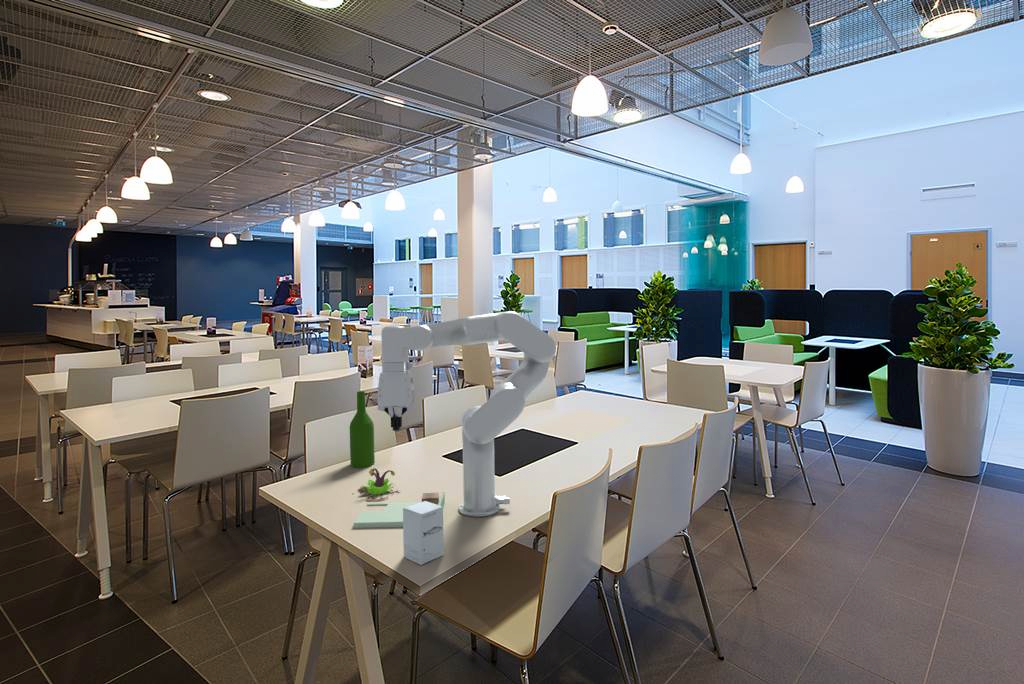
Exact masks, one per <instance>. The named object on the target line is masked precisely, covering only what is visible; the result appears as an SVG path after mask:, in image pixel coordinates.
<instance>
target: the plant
mask: <svg viewBox="0 0 1024 684" xmlns="http://www.w3.org/2000/svg"><path fill="white" fill-rule="evenodd" d="M389 472H390V475H391V476H393V477H394V476H395V475H396V472H395V471H393V470H390V469H389V470H386V471H385V472H383V473H382V476H380V472H379V470H378V469H377V468H373V467H372V468H371V469H369V471H368V474H369V475H370V476H371V477H373V476H374V477H375V480H371V479H368V482H367V481H366V485H365V484H364V485H362V486H360V488H358V489H357V490H356V491H357V493H359V494H360V495H361V494H363V493H364V494H363V495H362V496H360V498H361V497H362V498H363V497H364V498H365V497H368V498H367V499H366V500H365V502H366V503H381V502H384V501H388V500H389V497H388V496H386V497H382V496H384V495H386V493H387V494H389V493H390V494H392V495H391V496H393V495H394V493H396V494H400V493H401V491H399V490H398V489H396V491H395V490H393V489H391V488H392V485H393V484H394V482H391V483H389V482H390V479H389V478H385V477H386V475H387V474H388V473H389ZM390 490H391V491H390ZM365 493H368V494H365ZM354 494H355V493H354V492H353V493H352V495H354ZM374 495H375V497H377V496H378V495H379V496H380V497H379V498H378V499H377V498H376V499H375V498H374ZM370 498H371V499H370Z"/></svg>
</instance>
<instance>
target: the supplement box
mask: <svg viewBox="0 0 1024 684" xmlns="http://www.w3.org/2000/svg"><path fill="white" fill-rule="evenodd" d="M420 502H421V503H418V504H415V505H412V506H408V507H405V508H403V527H402V528H403V530H402V534H403V536H402V537H403V558H405V559H406V560H407V559H408V560H409V561H411V562H413V563H416V564H418V565H420V566H423V565H424V564H427V563H428V562H431V561H433V560H435V559H438V558H440V557H442V556H444V551H445V550H444V549H445V548H444V547H445V546H444V539H445V538H444V508H443V506H440V505H437V504H434V503H430V502H427V501H424V502H422V501H420Z"/></svg>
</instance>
